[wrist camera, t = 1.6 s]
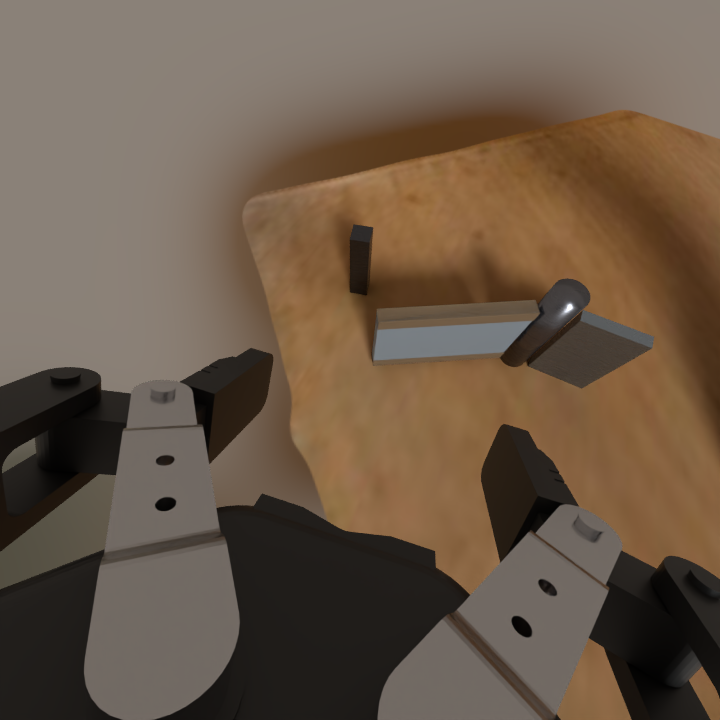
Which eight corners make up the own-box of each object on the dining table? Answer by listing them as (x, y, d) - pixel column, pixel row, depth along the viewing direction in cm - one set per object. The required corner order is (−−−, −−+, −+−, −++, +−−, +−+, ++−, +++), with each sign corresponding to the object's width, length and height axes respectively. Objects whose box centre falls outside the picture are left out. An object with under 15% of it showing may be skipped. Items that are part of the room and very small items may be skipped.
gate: (496, 346, 40) (535, 299, 31) (499, 357, 39) (540, 313, 31) (371, 354, 39) (376, 308, 31) (372, 365, 38) (378, 322, 30)
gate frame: (585, 374, 40) (675, 318, 29) (579, 397, 38) (670, 348, 27) (355, 275, 44) (357, 195, 33) (344, 293, 43) (341, 216, 32)
